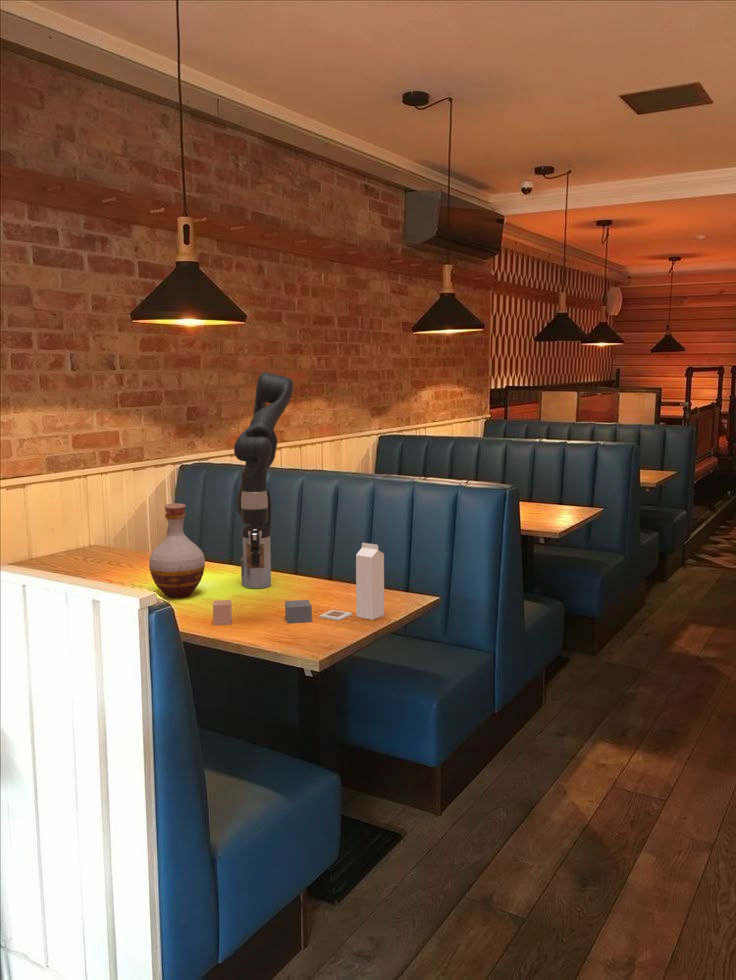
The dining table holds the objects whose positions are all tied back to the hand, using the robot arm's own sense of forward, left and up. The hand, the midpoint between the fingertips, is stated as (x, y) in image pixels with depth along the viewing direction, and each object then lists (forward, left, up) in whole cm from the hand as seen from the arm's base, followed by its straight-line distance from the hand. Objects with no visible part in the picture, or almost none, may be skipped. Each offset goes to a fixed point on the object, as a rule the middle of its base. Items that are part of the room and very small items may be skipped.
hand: (255, 563), depth 241 cm
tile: (+18, +15, -17) cm, 29 cm away
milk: (+27, +20, -17) cm, 38 cm away
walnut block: (0, 0, -1) cm, 1 cm away
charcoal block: (+10, +7, -17) cm, 21 cm away
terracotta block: (-8, -6, -17) cm, 20 cm away
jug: (-41, +11, -17) cm, 46 cm away
